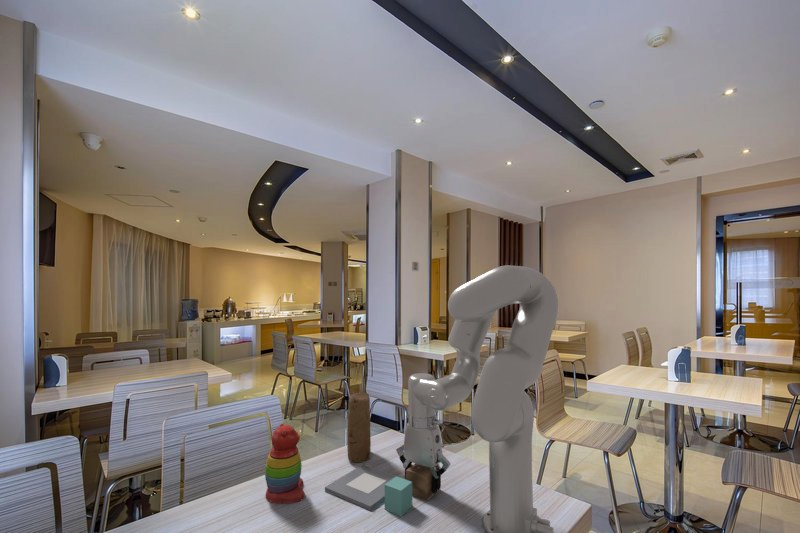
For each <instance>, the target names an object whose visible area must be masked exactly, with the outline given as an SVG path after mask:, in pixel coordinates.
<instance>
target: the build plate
mask: <svg viewBox="0 0 800 533" xmlns="http://www.w3.org/2000/svg"><path fill="white" fill-rule="evenodd" d="M396 476H397V477H400V478H403V479H405V477H402V476H398V475H396V474H392V473H390V472H388V471H387V472H386V471H384V470H381V469H378V468H375V467H372V466H370V465H367V464H365V463H363V464H361V465H359V466H358V467H356V468H354V469H352V470H351V471H349V472H347V473H346V474H344V475H342V476H341V477H339V478H338V479H336V480H334V481H333V482H331V483H329V484H328V485H326V486H325V487H324V492H327V493H328V494H331V495H334V496H336V497H337V498H341V499H343V500H345V501H346V502H349V503H352V504H353V505H356V506H359V507H362V508H363V509H366V510H368V511H372V510H373V509H375V508H376V507H377V506H379V505H380V504H381V503H382V502H383V501H384V502H385V484H386V483H388V482H389V481H390V480H392V479H393V478H394V477H396Z"/></svg>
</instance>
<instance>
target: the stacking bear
mask: <svg viewBox="0 0 800 533" xmlns="http://www.w3.org/2000/svg"><path fill="white" fill-rule="evenodd" d="M300 439H301V434H300V433H299V432H298V431H296V430H295V428H294V427H293V426H291V425H289V424H288V425H287V424H286V425H285V424H284V422H283V423H280V425H279V427H277V428H276V429H275V430H274V431H273V432H272V435H271V444H272V447H273V448H272V449H271V450H270V451H269V454H268V456H267V459H266V463H265V469H264V476H265V482H266V487H267V488H266V491H265V498H266V499H265V500H267V501H268V502H271V503H273V504H294V503H298V502H301V501H302V500H304V499H305V496H306V494H305V491H304V490H303V489H302V487H303V486H304V480H303V478H301V474H302V458H301V455H300V454H301V453H300V451H299V448H298V447H297V444H298V443H299V442H300Z"/></svg>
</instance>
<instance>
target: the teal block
mask: <svg viewBox="0 0 800 533" xmlns="http://www.w3.org/2000/svg"><path fill="white" fill-rule="evenodd" d="M397 476H398V475H396V477H394V478H393V479H392V480H390V481H389V482H388V483H386V484H385V500H384V510H385V511H388V512H391V513H393V514H395V515H397V516H400V517H402V516H403V515H404V514H406V512H408V511H409V510H410V509H411V508H412V507H413V495H412V482H411V481H408V480H405V479H403V478H404V477H402V478H400V477H401V476H399V477H397Z"/></svg>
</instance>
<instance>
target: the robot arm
mask: <svg viewBox="0 0 800 533" xmlns="http://www.w3.org/2000/svg"><path fill="white" fill-rule="evenodd" d="M514 304H519V310H518V312H517V314H516V315H515V318H514V320H513V323H512V325H511V331H510V334H509V337H508V341H507V343H506V345H505V347H503V348H500V349H497V350H496V351H494V352H492V353H490V355H489V356H488V357H487V358H486V360H485V362H484V363H483V366H482V368H481V355H480V354H481V353H480V352H481V350H482V346H483V343H484V341H485V340H486V337H487V334H488V331H489V329H490V327H491V324H492V321H493V320H494V319H493V318H494V316H495V313H496V311H498V310H500V309H502V308H504V307H506V306H507V307H508V306H509V305H514ZM558 309H559V300H558V295H557V291H556V289H555V287H554V285H553V284H552V282H551V281H550V280H549V279H548V277H546V275H544V273H542V272H540V271H538V270H537V269H534V268H532V267H529V266H524V265H509V264H507V265H504V264H503V265H502V266H500V265H499V266H498V267H494V268H492V269H491V270H488V271H487V272H484V273H483V274H481V275H479V276H477V277H475V278H473V279H472V280H469V281H467V282H465V283H463V284H461V285H460V286H458V287H456V288H455V289H454V290H453V291H452V293H451V294H450V296H449V298H448V301H447V310H448V313H449V316H451V318H453V319H454V322H453V325H452V327H451V331H450V332H449V335H448V340H447V341H448V344H449V346H450V347H451V348H453V349H454V350H455V351H456V359H455V362H454V364H453V365H454V366H453V367H452V370H451V372H450V373H449V374H450V375H447V376H443V377H441V378H437V379H435V376H434V375H433V374H429V373H427V372H426V373H423V372H422V373H421V372H420V373H419V372H418V373H413V374H411V375H410V376H409V377H408V383H407V384H408V385H407V387H408V388H407V389H408V390H407V393H408V395H407V397H408V398H407V399H408V400H407V401H408V403H407V404H408V406H407V408H408V409H407V410H408V413H407V414H408V417H407V418H408V420H407V421H408V422H407V423H406V427H405V431H404V438H403V439H404V440H403V445H400V446H399V447H398V448H396V450H395V451H396V453H397V455H398V457H399V460H400V462H401V463H402V468H404V478H405V480H406V470H407V469H408V468H410V467H411V466H412V465H413V464H415V463H416V464H419V465H422V466H425V467H429V468H430V469H431V471H432V474H433V476H434V477H433V478H432V493H434V494H436V493H437V492H438V491H439V490H440V489H441V487H442V484H441V483H442V482H441V478H442V475H443V474H444V473H445V472H446V471H447V470H448V469H449V468H450V466H451V462H450V461H449V460H448V459H447V457H446V456H445V455H444V454H443V447H442V446H443V444H442V443H443V442H442V437H441V431H440V428H439V425H440V423H441V420H440V419H438V418H437V414H436V412H437V411H446V410H448V409H450V408H452V407H454V406H456V405H459V404H460V403H463V402H464V401H465V400H467V399H468V398H469V397H470V395H471V393H472V391H473V389H474V387H475V384H476V382H477V379H478V382H477V386H476V391H475V394H474V399H473V401H472V405H471V410H470V419H471V424H472V426H473V429H474V431H475V433H476V434H477V435H478V436H479V437H480V438H481V439H482V440H484V441H486V442H489V443H488V462H489V463H488V467H489V468H488V469H489V474H488V475H489V476H488V477H489V510H488V511H486V512H485V514H484V515H483V527H484V530H485V531H486V533H554V527H552V526H551V521H550V520H548V519H544V518H541V517H540V515H538V509H537V508H536V507H534V497H533V492H534V491H533V488H534V487H533V430H534V420H535V411H534V405H533V402H532V399H531V397H530V396H529V394H528V393H527V392H526V391H525V390H526V389H528V388H529V387H531V386H532V385H534V384H536V383H537V381H538V380H539V379H540V377H541V374H542V371H543V368H544V363H545V359H546V357H547V353H548V349H549V346H550V344H551V337H552V334H553V331H554V327H555V325H556V321H557V318H558V317H557V316H558ZM480 368H481V373H480ZM479 373H480V376H479ZM478 376H479V378H478ZM439 463H441V465H442V466H440V464H439ZM435 468H436V469H435ZM436 470H437V471H436ZM434 494H433V495H434Z"/></svg>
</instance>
